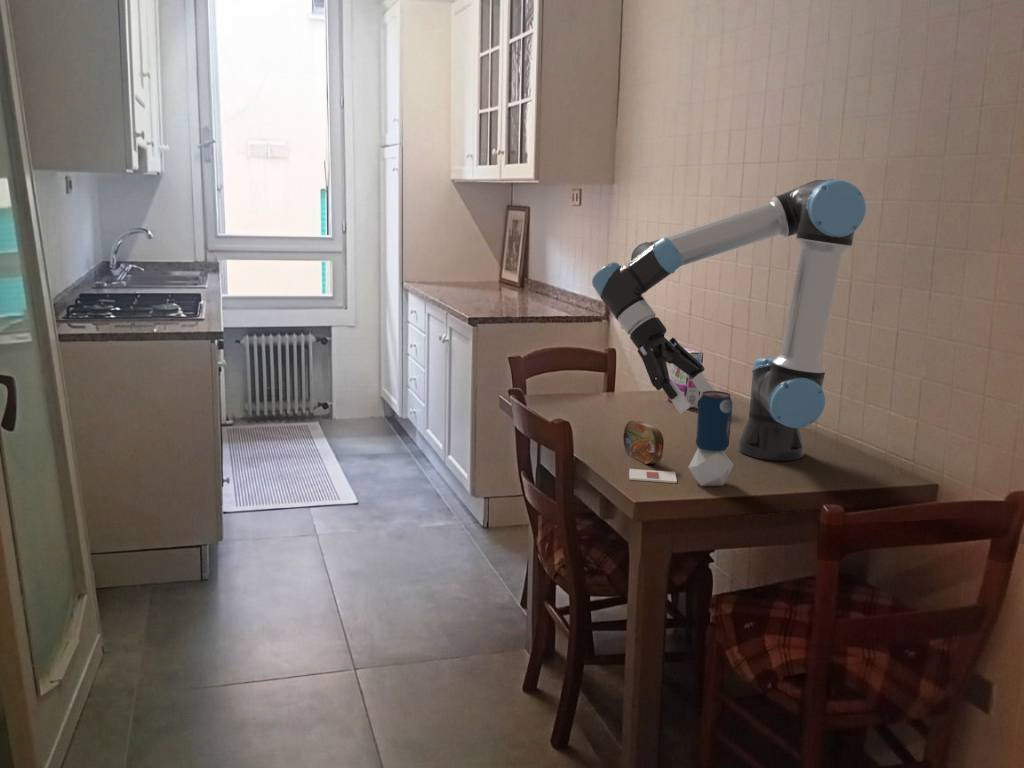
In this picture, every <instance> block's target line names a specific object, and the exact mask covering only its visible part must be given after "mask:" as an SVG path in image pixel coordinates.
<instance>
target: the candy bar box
mask: <svg viewBox="0 0 1024 768" xmlns="http://www.w3.org/2000/svg"><path fill="white" fill-rule="evenodd" d="M682 347H683V348H684V349H685V350H686V351H687V352H688V353H689V354H690V355H692V356H693V357H694V358H695V359H696V360H697V361H698V362H699V363H700V364H701V365H703V362H704V352H702V351H698V350H696V349H692V348H690V347H686V346H682ZM669 379H670V382H671V381H674V383H675V384H676V385H677V387H678V388H679V390H680V391H681V392H682V394H683V395H684V396H685V398H686V399H687V401H688V402H689V403H690V405H691V407H690V408H688V409H687V410H690V409H693V410H695V409H697V410H698V407H699V400H700V398H701V397H700V395H701V393H700V391H699V390H698V388H697V387H696V386H695V384H694V383H693V382H692V379H693V378H692V377H691V376H689V375H688V374H686V373H685V372H684V371H682V370H681V369H679V368H678V367H677V366H675V365H674V364H672V363H671V364H670V365H669ZM670 382H669V383H670ZM667 402H669V403H671V404H673V403H672V401H671V400H670V399H669V397H668V396H667Z"/></svg>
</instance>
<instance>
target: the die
mask: <svg viewBox="0 0 1024 768" xmlns="http://www.w3.org/2000/svg"><path fill="white" fill-rule="evenodd" d="M733 467H734V464H733V462H732V461H731V459H730V458H729V457H728V455H727V454H726V452H725V451H724V452H718V453H714V452H706V451H702V450H700V449H699V448H698V447H697V450H695V453H694V455H693V457H692V459H691V461H690V463H689V464H688V469H689V471H690V472H691V475H693V477H694V479H695V480H696V481H697V482H698V484H699V486H700V487H711V486H712V487H713V486H714V487H715V486H716V487H717V486H724V484H725V483H726V481H727V479H728V477H729V475H730V473H731V471H732V470H733Z"/></svg>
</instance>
